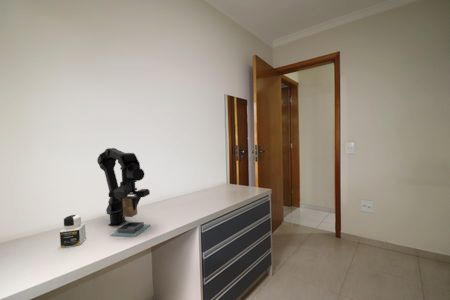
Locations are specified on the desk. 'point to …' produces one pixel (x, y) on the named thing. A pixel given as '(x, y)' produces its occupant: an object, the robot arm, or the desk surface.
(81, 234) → the medicine bottle
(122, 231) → the socket holder
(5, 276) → the desk surface
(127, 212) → the walnut peg
